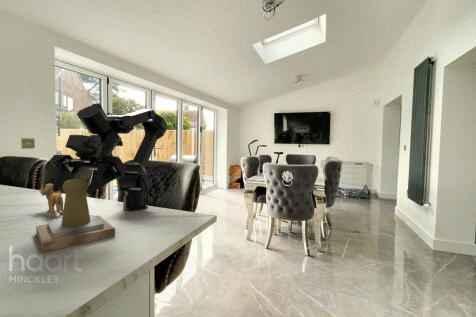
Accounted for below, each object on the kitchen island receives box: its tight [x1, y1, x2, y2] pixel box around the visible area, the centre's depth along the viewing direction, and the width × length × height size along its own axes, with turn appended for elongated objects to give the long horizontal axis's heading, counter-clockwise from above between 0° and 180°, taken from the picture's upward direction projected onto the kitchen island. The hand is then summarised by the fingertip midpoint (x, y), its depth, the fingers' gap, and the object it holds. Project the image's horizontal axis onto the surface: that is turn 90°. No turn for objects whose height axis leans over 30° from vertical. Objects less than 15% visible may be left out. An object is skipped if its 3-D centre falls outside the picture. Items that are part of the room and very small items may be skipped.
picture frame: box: [35, 214, 116, 253], centre depth 60 cm, size 14×14×3 cm
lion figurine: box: [39, 183, 64, 218], centre depth 78 cm, size 15×5×9 cm, turn 53°
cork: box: [61, 178, 91, 227], centre depth 59 cm, size 6×6×11 cm
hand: (70, 192), depth 58 cm, fingers open, 9 cm apart
